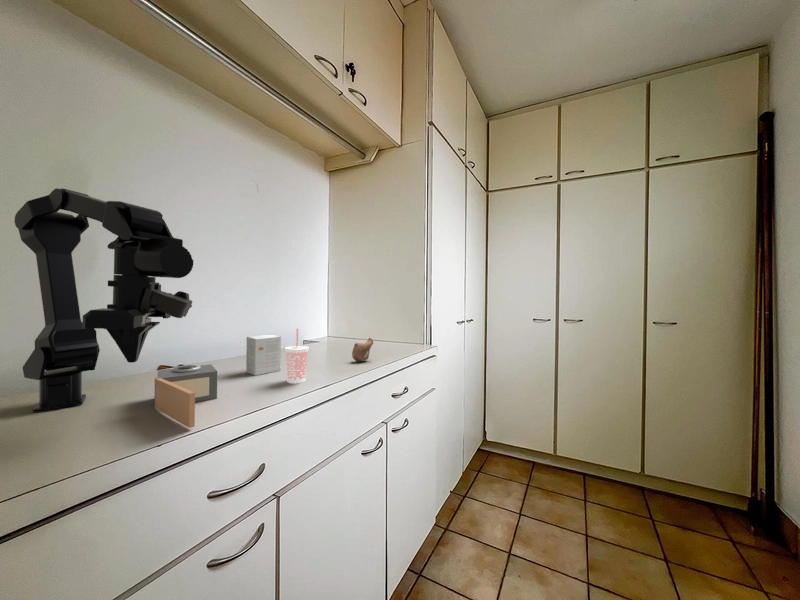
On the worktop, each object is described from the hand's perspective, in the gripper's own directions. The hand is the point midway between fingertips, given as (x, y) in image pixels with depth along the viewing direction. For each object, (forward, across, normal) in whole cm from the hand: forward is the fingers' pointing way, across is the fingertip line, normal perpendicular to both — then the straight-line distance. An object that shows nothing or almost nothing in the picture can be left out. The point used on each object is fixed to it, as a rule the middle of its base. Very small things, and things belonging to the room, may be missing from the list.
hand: (132, 362), depth 55 cm
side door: (+10, -3, -7) cm, 12 cm away
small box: (+11, +29, -21) cm, 37 cm away
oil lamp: (+10, +35, -53) cm, 64 cm away
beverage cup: (+10, +16, -29) cm, 35 cm away
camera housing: (+10, +10, -6) cm, 16 cm away
